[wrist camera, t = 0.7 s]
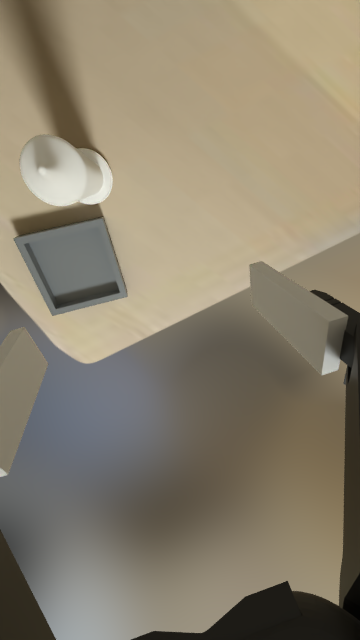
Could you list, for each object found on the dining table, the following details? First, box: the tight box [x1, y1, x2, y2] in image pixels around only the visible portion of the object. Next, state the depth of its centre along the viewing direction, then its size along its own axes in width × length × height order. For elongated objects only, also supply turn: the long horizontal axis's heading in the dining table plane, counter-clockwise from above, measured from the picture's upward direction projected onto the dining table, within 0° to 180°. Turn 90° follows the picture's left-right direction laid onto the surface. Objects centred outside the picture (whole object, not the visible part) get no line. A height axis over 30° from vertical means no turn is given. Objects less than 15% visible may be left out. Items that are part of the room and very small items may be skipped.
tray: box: [14, 217, 128, 316], centre depth 41 cm, size 13×13×2 cm
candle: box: [20, 135, 113, 206], centre depth 26 cm, size 7×7×25 cm
